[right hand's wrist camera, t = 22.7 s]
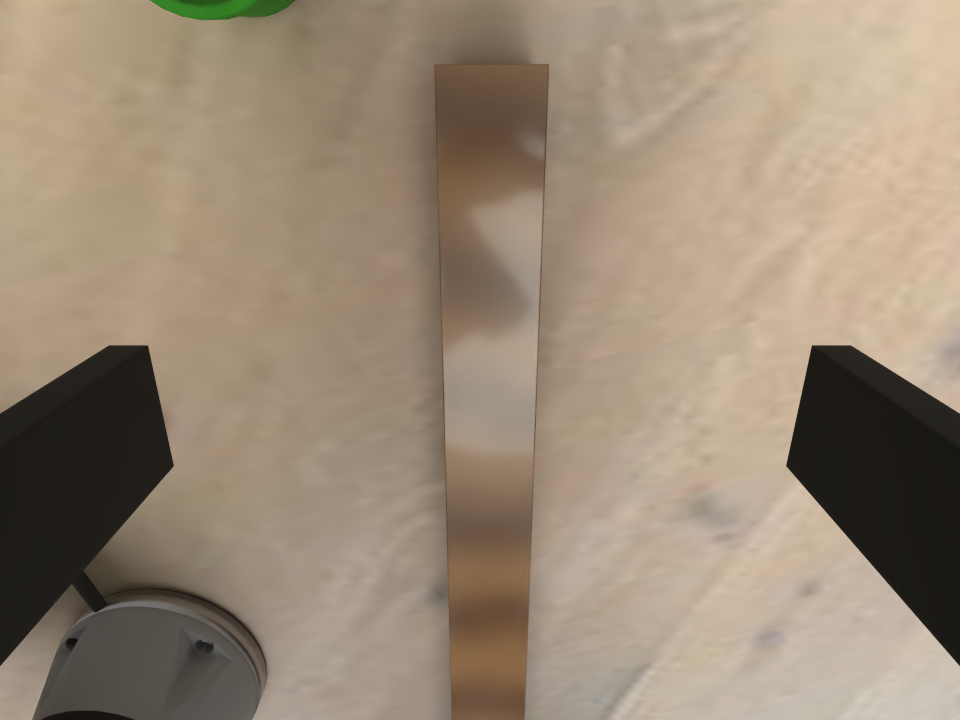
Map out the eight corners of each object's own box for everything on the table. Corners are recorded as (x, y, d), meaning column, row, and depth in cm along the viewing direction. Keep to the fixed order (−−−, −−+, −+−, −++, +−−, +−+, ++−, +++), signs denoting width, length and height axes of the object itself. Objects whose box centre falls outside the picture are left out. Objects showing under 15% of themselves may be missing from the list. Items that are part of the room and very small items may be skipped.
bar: (446, 73, 32) (434, 64, 25) (535, 73, 32) (549, 64, 25) (463, 891, 60) (459, 1001, 52) (510, 891, 60) (513, 1002, 52)
